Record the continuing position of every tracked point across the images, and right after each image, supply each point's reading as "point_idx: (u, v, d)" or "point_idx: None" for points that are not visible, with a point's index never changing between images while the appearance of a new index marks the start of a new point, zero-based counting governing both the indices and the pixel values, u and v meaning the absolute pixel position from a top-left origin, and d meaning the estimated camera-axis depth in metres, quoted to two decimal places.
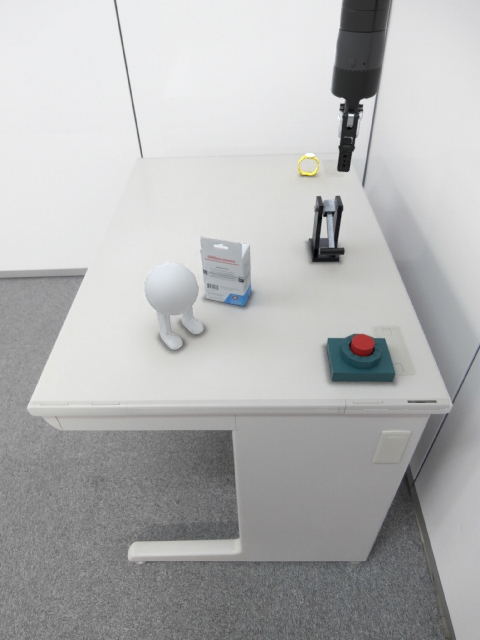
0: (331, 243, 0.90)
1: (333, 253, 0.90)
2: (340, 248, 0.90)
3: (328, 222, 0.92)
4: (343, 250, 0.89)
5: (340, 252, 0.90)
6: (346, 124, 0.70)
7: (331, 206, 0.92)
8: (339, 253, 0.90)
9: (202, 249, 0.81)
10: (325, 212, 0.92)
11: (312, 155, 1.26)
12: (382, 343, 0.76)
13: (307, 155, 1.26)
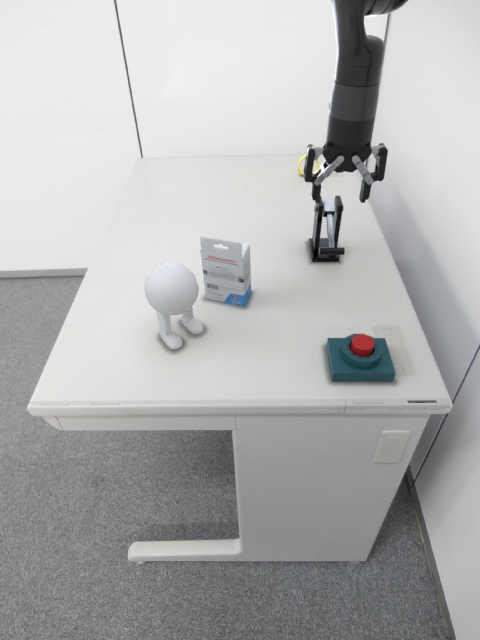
0: (331, 243, 0.90)
1: (333, 253, 0.90)
2: (340, 248, 0.90)
3: (328, 222, 0.92)
4: (343, 250, 0.89)
5: (340, 252, 0.90)
6: (306, 154, 0.78)
7: (331, 206, 0.92)
8: (339, 253, 0.90)
9: (202, 249, 0.81)
10: (325, 212, 0.92)
11: None
12: (382, 343, 0.76)
13: None
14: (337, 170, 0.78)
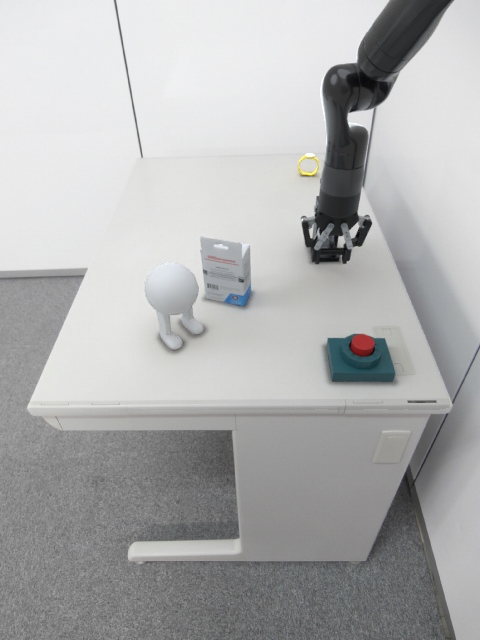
0: (331, 244, 0.90)
1: (333, 253, 0.90)
2: (340, 248, 0.90)
3: None
4: (343, 250, 0.89)
5: (340, 252, 0.90)
6: None
7: None
8: (339, 253, 0.90)
9: (202, 249, 0.81)
10: None
11: (312, 155, 1.26)
12: (382, 343, 0.76)
13: (307, 155, 1.26)
14: None
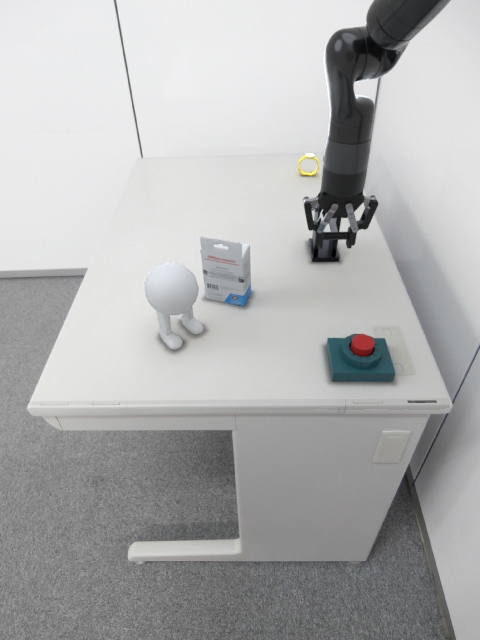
0: (334, 229, 0.87)
1: (337, 236, 0.85)
2: None
3: None
4: (347, 233, 0.85)
5: (344, 235, 0.85)
6: None
7: None
8: (343, 236, 0.85)
9: (202, 249, 0.81)
10: None
11: (312, 155, 1.26)
12: (382, 343, 0.76)
13: (307, 155, 1.26)
14: None
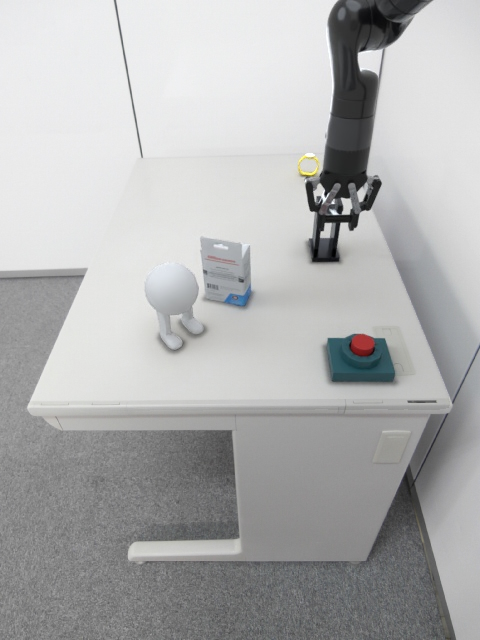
0: (335, 214, 0.85)
1: (339, 217, 0.83)
2: None
3: (330, 209, 0.90)
4: (349, 214, 0.84)
5: (346, 216, 0.83)
6: (305, 186, 0.80)
7: None
8: (345, 217, 0.83)
9: (202, 249, 0.81)
10: None
11: (312, 155, 1.26)
12: (382, 343, 0.76)
13: (307, 155, 1.26)
14: (334, 196, 0.80)
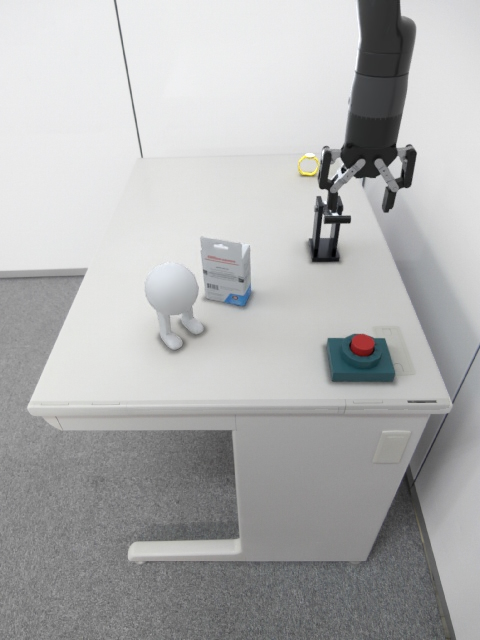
0: (335, 215, 0.85)
1: (339, 218, 0.83)
2: None
3: None
4: (349, 215, 0.84)
5: (346, 217, 0.83)
6: (321, 157, 0.67)
7: None
8: (345, 218, 0.83)
9: (202, 249, 0.81)
10: (325, 206, 0.92)
11: (312, 155, 1.26)
12: (382, 343, 0.76)
13: (307, 155, 1.26)
14: (357, 175, 0.68)
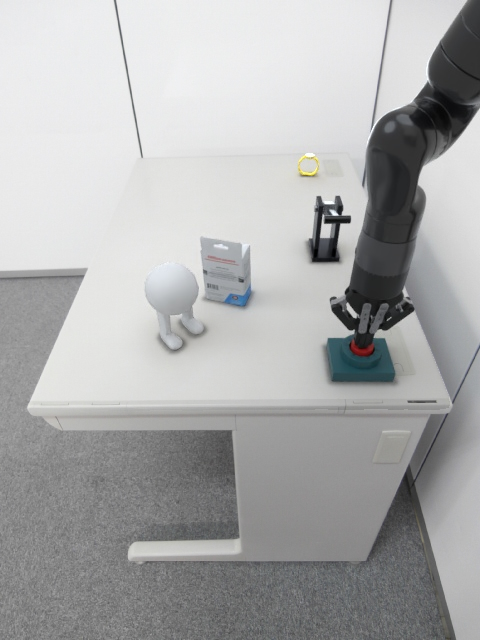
0: (335, 215, 0.85)
1: (339, 218, 0.83)
2: None
3: (330, 209, 0.90)
4: (349, 215, 0.84)
5: (346, 217, 0.83)
6: None
7: (331, 202, 0.92)
8: (345, 218, 0.83)
9: (202, 249, 0.81)
10: (325, 206, 0.92)
11: (312, 155, 1.26)
12: (382, 343, 0.76)
13: (307, 155, 1.26)
14: None
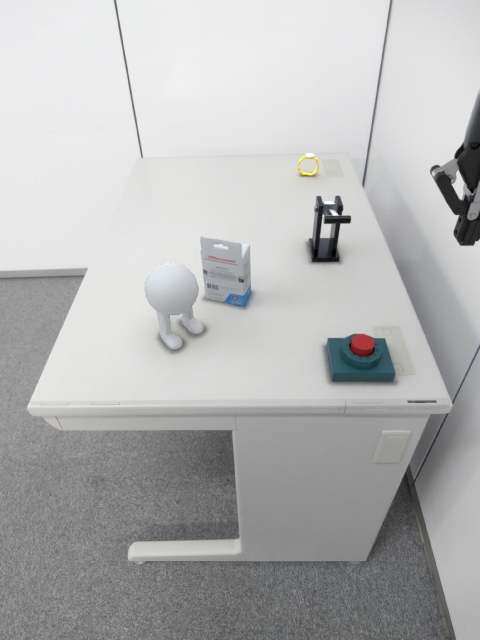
0: (335, 215, 0.85)
1: (339, 218, 0.83)
2: None
3: (330, 209, 0.90)
4: (349, 215, 0.84)
5: (346, 217, 0.83)
6: (435, 182, 0.50)
7: (331, 202, 0.92)
8: (345, 218, 0.83)
9: (202, 249, 0.81)
10: (325, 206, 0.92)
11: (312, 155, 1.26)
12: (382, 343, 0.76)
13: (307, 155, 1.26)
14: None
